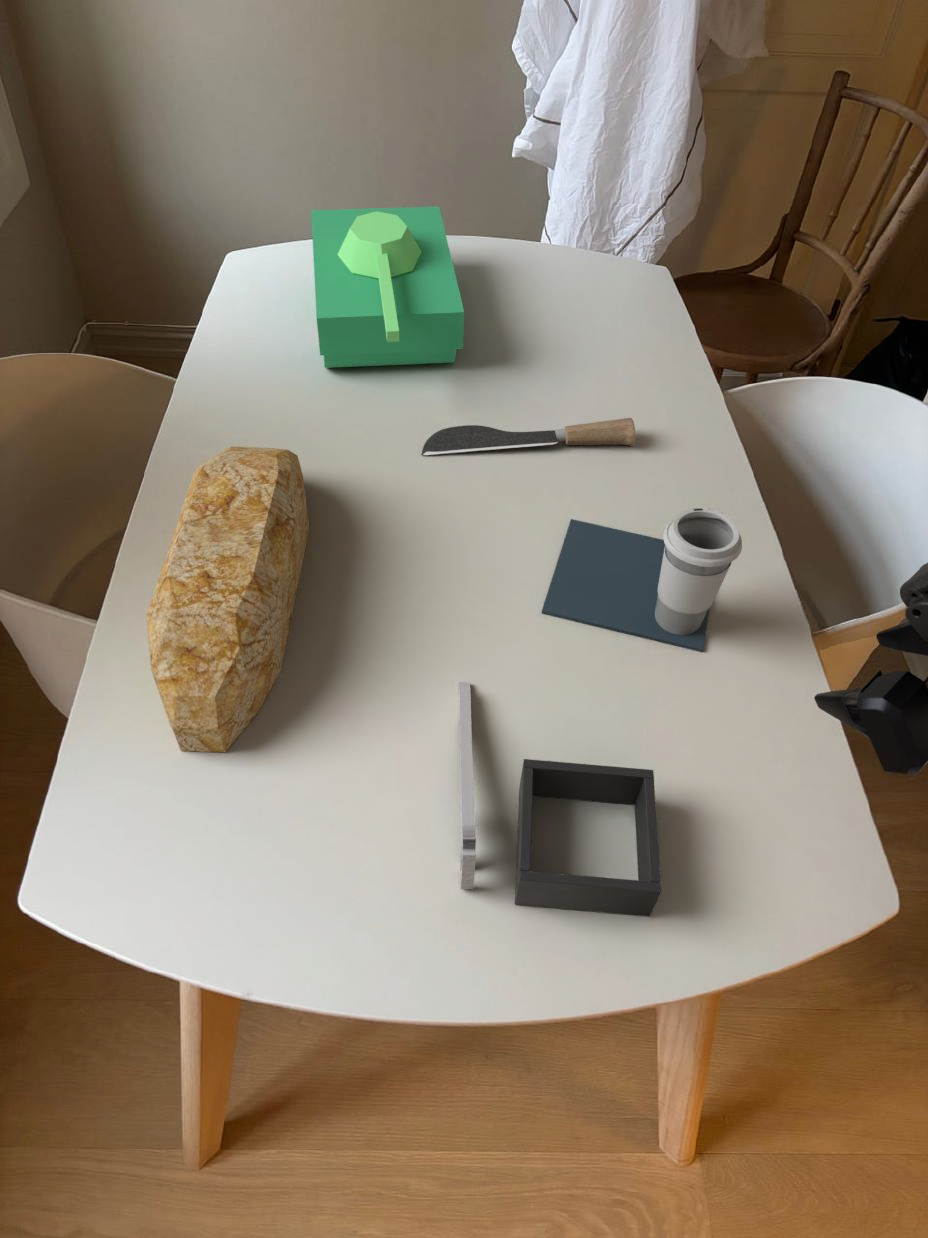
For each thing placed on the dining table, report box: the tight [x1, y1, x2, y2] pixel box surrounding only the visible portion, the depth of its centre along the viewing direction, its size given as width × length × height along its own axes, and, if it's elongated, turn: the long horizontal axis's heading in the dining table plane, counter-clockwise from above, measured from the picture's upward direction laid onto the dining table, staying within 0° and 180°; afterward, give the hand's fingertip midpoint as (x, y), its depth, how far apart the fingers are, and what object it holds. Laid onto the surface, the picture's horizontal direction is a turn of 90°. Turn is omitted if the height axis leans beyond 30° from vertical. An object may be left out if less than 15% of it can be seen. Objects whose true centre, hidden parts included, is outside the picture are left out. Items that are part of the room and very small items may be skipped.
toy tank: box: [310, 206, 465, 369], centre depth 120 cm, size 18×12×35 cm
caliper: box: [458, 681, 477, 890], centre depth 78 cm, size 20×1×6 cm, turn 1°
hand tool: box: [421, 417, 636, 456], centre depth 110 cm, size 6×3×25 cm
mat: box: [541, 518, 711, 653], centre depth 96 cm, size 16×14×1 cm
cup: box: [655, 507, 743, 635], centre depth 88 cm, size 7×7×12 cm
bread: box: [145, 446, 310, 753], centre depth 89 cm, size 36×11×10 cm, turn 178°
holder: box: [514, 758, 662, 917], centre depth 75 cm, size 11×11×4 cm
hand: (848, 669), depth 74 cm, fingers open, 9 cm apart
